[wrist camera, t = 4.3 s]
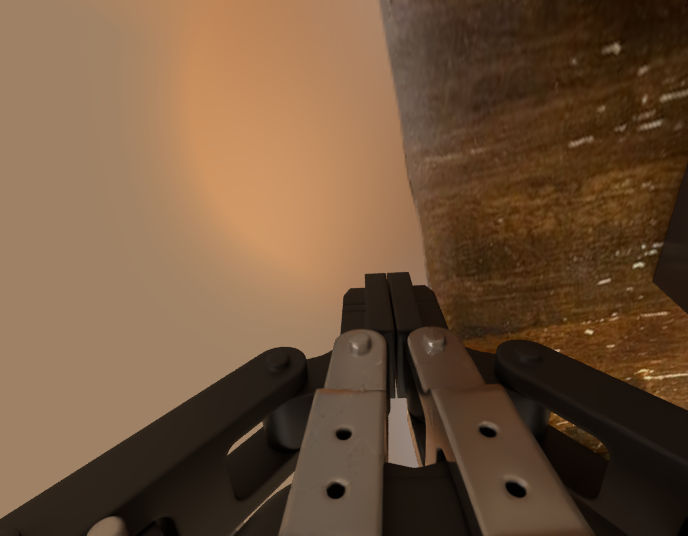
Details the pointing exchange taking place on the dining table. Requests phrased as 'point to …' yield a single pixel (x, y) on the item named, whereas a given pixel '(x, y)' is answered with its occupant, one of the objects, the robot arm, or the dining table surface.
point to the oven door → (676, 252)
